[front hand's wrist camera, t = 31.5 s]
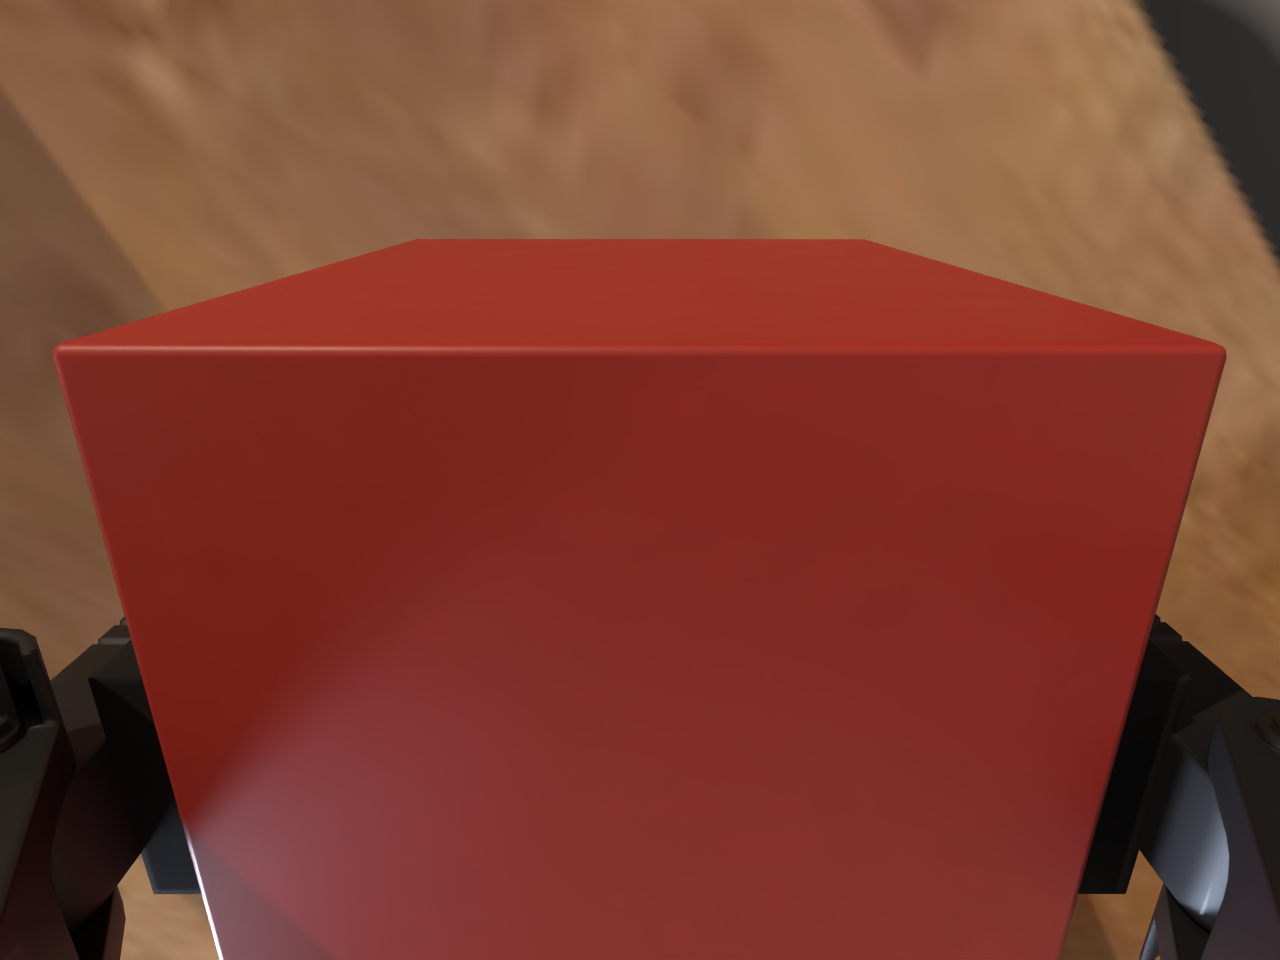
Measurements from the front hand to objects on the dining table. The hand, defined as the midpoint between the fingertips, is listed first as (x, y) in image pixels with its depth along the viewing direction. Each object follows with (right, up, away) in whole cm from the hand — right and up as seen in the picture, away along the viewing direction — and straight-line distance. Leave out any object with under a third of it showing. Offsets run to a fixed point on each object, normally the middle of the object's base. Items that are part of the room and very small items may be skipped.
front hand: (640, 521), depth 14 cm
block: (0, +1, +3) cm, 3 cm away
